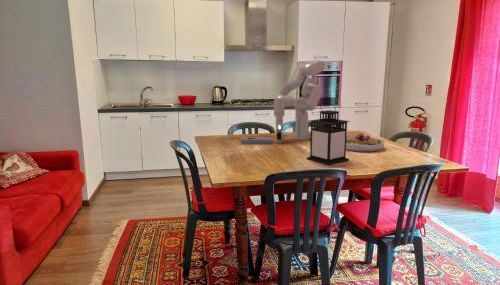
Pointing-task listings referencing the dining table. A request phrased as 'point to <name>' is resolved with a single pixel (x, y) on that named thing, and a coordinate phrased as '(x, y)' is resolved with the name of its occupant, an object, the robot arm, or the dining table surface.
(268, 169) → the dining table surface
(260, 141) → the board
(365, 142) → the bowl
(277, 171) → the dining table surface
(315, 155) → the lantern
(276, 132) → the peg
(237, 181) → the dining table surface
